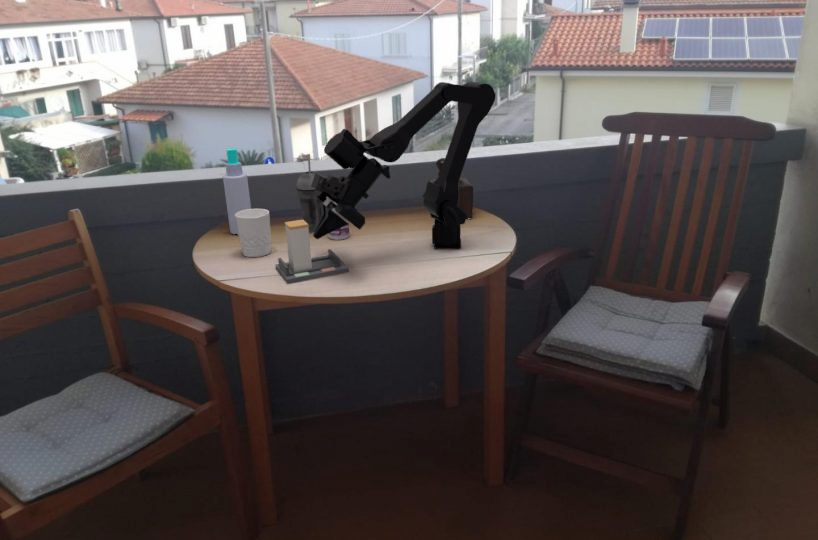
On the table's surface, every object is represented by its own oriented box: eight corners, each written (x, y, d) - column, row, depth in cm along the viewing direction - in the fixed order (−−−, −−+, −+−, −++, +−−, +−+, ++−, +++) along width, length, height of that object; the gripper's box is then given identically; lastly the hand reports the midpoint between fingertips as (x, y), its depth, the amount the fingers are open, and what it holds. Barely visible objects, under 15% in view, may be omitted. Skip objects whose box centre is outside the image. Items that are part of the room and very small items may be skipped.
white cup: (278, 248, 155) (274, 209, 152) (265, 259, 148) (260, 218, 144) (249, 246, 157) (244, 207, 153) (234, 257, 150) (229, 217, 146)
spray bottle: (249, 235, 165) (238, 151, 157) (227, 235, 166) (215, 151, 157) (256, 228, 170) (247, 147, 162) (235, 228, 171) (224, 147, 163)
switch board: (334, 258, 148) (333, 246, 147) (349, 271, 139) (348, 259, 138) (275, 268, 142) (274, 256, 141) (287, 283, 134) (286, 270, 133)
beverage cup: (296, 233, 165) (289, 158, 158) (304, 225, 172) (297, 152, 165) (323, 234, 164) (317, 158, 157) (330, 225, 171) (324, 152, 164)
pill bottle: (346, 240, 159) (343, 203, 156) (326, 239, 160) (323, 203, 157) (352, 234, 164) (349, 198, 160) (332, 233, 165) (330, 197, 161)
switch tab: (306, 262, 142) (302, 219, 138) (312, 268, 138) (308, 224, 135) (289, 266, 140) (284, 222, 136) (294, 272, 137) (289, 227, 133)
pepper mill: (428, 211, 182) (427, 149, 175) (465, 209, 183) (466, 147, 176) (436, 227, 168) (436, 160, 161) (477, 225, 169) (478, 158, 162)
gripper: (318, 152, 142) (275, 206, 142) (347, 167, 126) (299, 228, 126) (353, 181, 148) (312, 233, 148) (385, 199, 132) (339, 258, 132)
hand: (314, 237), depth 138 cm, fingers closed
